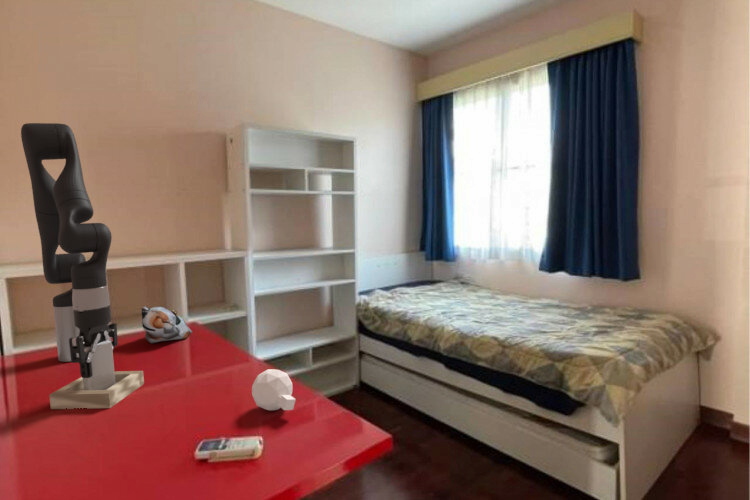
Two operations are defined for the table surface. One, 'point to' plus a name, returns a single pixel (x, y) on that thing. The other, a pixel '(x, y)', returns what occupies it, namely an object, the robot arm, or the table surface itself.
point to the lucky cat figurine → (163, 325)
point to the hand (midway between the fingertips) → (97, 371)
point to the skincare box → (101, 368)
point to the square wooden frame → (96, 392)
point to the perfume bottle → (273, 390)
